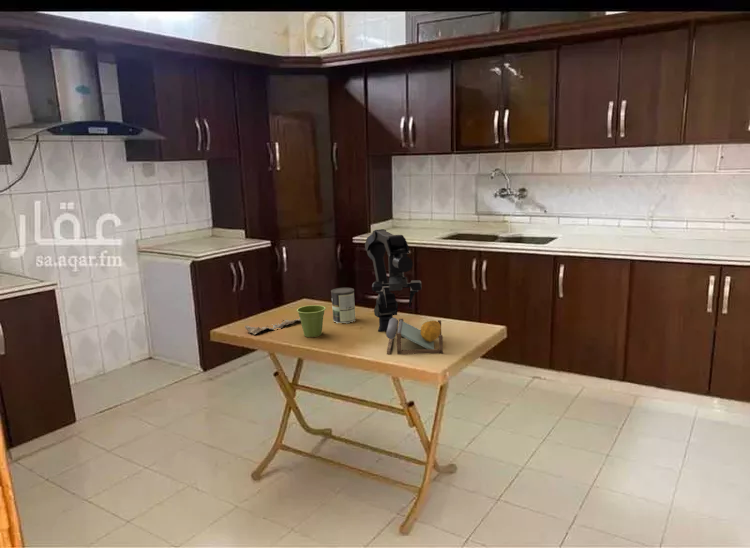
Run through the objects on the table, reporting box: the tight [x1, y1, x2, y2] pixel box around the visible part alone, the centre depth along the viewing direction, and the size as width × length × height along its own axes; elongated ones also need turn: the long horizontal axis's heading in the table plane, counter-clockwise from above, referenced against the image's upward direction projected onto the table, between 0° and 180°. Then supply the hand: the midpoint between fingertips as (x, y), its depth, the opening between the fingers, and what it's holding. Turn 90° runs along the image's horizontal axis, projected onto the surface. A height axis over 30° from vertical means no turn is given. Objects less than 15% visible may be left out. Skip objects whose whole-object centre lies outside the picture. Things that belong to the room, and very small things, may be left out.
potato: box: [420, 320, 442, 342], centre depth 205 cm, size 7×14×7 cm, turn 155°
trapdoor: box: [385, 317, 435, 349], centre depth 207 cm, size 16×18×4 cm
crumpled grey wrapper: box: [244, 318, 301, 335], centre depth 243 cm, size 34×10×3 cm, turn 136°
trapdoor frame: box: [386, 318, 444, 355], centre depth 206 cm, size 20×20×8 cm
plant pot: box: [296, 304, 326, 338], centre depth 225 cm, size 12×12×11 cm
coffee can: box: [330, 287, 356, 324], centre depth 244 cm, size 10×10×14 cm
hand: (397, 307), depth 212 cm, fingers open, 9 cm apart
